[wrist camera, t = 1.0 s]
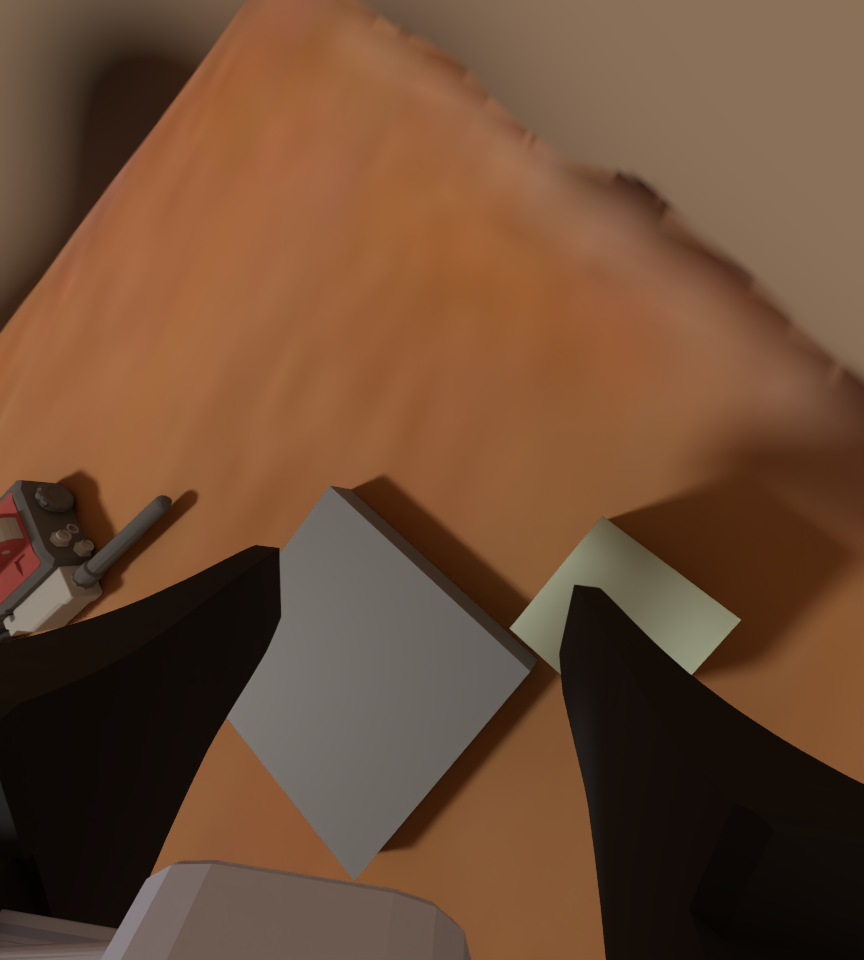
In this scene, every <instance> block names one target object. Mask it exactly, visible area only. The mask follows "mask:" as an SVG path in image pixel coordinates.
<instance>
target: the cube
mask: <svg viewBox="0 0 864 960" xmlns="http://www.w3.org/2000/svg"><path fill="white" fill-rule="evenodd" d="M574 585H583V586H591V587H599V588H601V589H602V590H603V591H604V592H605V593H606V594H607V595H608V596H609V597H610V598H611V599H612V600H613V601H614V602H615V603H616V604H617V605H618V606H619V607H620V608H621V609H622V610H623V611H624V612H625V613H626V614H627V615H628V616H629V617H630V618H631V619H632V620H633V621H634V622H635V623H636V624H637V625H638V626H639V627H640V628H641V629H642V630H643V631H644V632H645V633H646V634H647V635H648V636H649V637H650V638H651V639H652V640H653V641H654V642H655V643H656V644H657V645H658V646H659V647H660V648H661V649H662V650H664V651H665V652H666V653H667V654H668V655H669V656H670V657H671V658H672V659H674V660H675V661H676V662H677V663H678V664H679V665H680V666H682V667H683V668H684V669H685V670H686V671H687V672H688V673H690V674H691V675H692V674H693V673H694V672H695V671H696V670H697V668H698V667H699V666H700V665H701V664H702V663H703V662H704V661H705V660H706V658H707V657H708V656H709V655H710V654H711V653H712V652H713V651H714V650H715V648H716V647H717V646H718V645H719V644H720V643H721V642H722V641H723V640H724V638H725V637H726V636H727V635H728V634H729V633H730V632H731V631H732V630H733V628H734V627H735V626H736V625H737V624H738V623H739V622H740V621H741V619H739V618H738V617H737V616H735V615H734V614H733V613H731V612H730V611H729V610H727V609H726V608H725V607H723V606H722V605H721V604H719V603H718V602H717V601H715V600H714V599H713V598H711V597H710V596H709V595H707V594H706V593H705V592H703V591H702V590H701V589H699V588H698V587H697V586H695V585H694V584H693V583H691V582H690V581H689V580H687V579H686V578H685V577H683V576H682V575H681V574H679V573H678V572H677V571H675V570H674V569H673V568H671V567H670V566H669V565H667V564H666V563H665V562H663V561H662V560H661V559H659V558H658V557H657V556H655V555H654V554H653V553H651V552H650V551H649V550H647V549H646V548H645V547H643V546H642V545H641V544H639V543H638V542H637V541H635V540H634V539H633V538H631V537H630V536H629V535H627V534H626V533H625V532H623V531H622V530H621V529H619V528H618V527H617V526H615V525H614V524H613V523H611V522H610V521H609V520H607V519H606V518H605V517H603V516H602V517H601V518H600V519H599V520H598V521H597V523H596V524H595V525H594V526H593V527H592V529H591V530H590V531H589V532H588V534H587V535H586V536H585V537H584V538H583V540H582V541H581V542H580V543H579V545H578V546H577V547H576V548H575V549H574V551H573V552H572V553H571V554H570V556H569V557H568V558H567V559H566V560H565V562H564V563H563V564H562V565H561V566H560V568H559V569H558V570H557V571H556V573H555V574H554V575H553V576H552V577H551V579H550V580H549V581H548V582H547V584H546V585H545V586H544V587H543V588H542V590H541V591H540V592H539V593H538V594H537V596H536V597H535V598H534V599H533V601H532V602H531V603H530V604H529V605H528V607H527V608H526V609H525V610H524V612H523V613H522V614H521V615H520V616H519V618H518V619H517V620H516V621H515V623H514V624H513V625H512V626H511V627H510V629H511V630H512V631H513V632H514V633H515V634H516V635H517V636H518V637H519V638H521V639H522V640H523V641H524V642H525V643H526V644H527V645H528V646H529V647H531V648H532V649H533V650H534V651H535V652H536V653H537V654H538V655H539V656H541V657H542V658H543V659H544V660H545V661H546V662H547V663H548V664H549V665H550V666H552V667H553V668H554V669H555V670H556V671H557V672H558V673H559V674H560V675H561V671H560V659H559V651H560V647H561V642H562V638H563V633H564V628H565V624H566V619H567V615H568V610H569V605H570V601H571V596H572V592H573V587H574Z"/></svg>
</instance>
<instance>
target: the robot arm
mask: <svg viewBox="0 0 864 960" xmlns="http://www.w3.org/2000/svg"><path fill="white" fill-rule="evenodd" d="M280 619H281V586H280V553H279V548H275V547H266V546H258V545H255V546H252V547H250V548H247V549H245V550H243V551H241V552H239V553H237V554H235V555H233V556H231V557H229V558H227V559H225V560H223V561H221V562H219V563H217V564H215V565H213V566H211V567H210V568H208V569H206V570H204V571H202V572H200V573H198V574H196V575H194V576H192V577H190V578H188V579H186V580H184V581H181V582H179V583H177V584H175V585H173V586H171V587H168V588H166V589H164V590H162V591H160V592H158V593H155V594H153V595H151V596H149V597H147V598H144V599H142V600H139V601H137V602H135V603H132V604H130V605H127V606H125V607H122V608H119V609H116V610H114V611H111V612H108V613H105V614H103V615H100V616H97V617H94V618H91V619H88V620H85V621H81V622H78V623H75V624H71V625H68V626H65V627H61V628H58V629H55V630H51V631H48V632H45V633H41V634H38V635H34V636H30V637H26V638H22V639H18V640H14V641H10V642H5V643H1V644H0V960H471V957H470V953H469V949H468V945H467V941H466V937H465V933H464V931H463V930H462V928H461V927H460V926H459V925H458V924H457V923H456V922H455V921H454V920H453V919H452V918H450V917H449V916H448V915H447V914H446V913H445V912H444V911H442V910H441V909H440V908H439V907H438V906H437V905H435V904H434V903H433V902H432V901H429V900H426V899H423V898H420V897H417V896H414V895H411V894H408V893H405V892H402V891H399V890H396V889H391V888H385V887H379V886H373V885H366V884H360V883H354V882H348V881H342V880H336V879H329V878H323V877H317V876H311V875H305V874H298V873H292V872H286V871H280V870H274V869H268V868H261V867H255V866H249V865H243V864H237V863H230V862H224V861H218V860H202V861H180V862H177V863H174V864H172V865H170V866H168V867H167V868H165V869H163V870H161V871H160V872H158V873H156V874H154V875H153V876H151V877H150V875H151V872H152V870H153V868H154V865H155V863H156V861H157V858H158V856H159V854H160V851H161V849H162V847H163V844H164V842H165V840H166V837H167V835H168V833H169V831H170V829H171V827H172V824H173V822H174V820H175V818H176V816H177V813H178V811H179V809H180V807H181V805H182V802H183V800H184V798H185V796H186V794H187V792H188V789H189V787H190V785H191V783H192V781H193V779H194V777H195V775H196V773H197V771H198V769H199V767H200V765H201V763H202V761H203V758H204V756H205V754H206V752H207V750H208V748H209V747H210V745H211V743H212V741H213V739H214V738H215V736H216V734H217V732H218V730H219V729H220V727H221V726H222V724H223V722H224V721H225V719H226V717H227V716H228V714H229V713H230V711H231V709H232V708H233V706H234V704H235V703H236V701H237V700H238V698H239V696H240V695H241V693H242V692H243V690H244V688H245V687H246V685H247V683H248V682H249V680H250V679H251V677H252V675H253V674H254V672H255V670H256V669H257V667H258V665H259V664H260V662H261V660H262V659H263V657H264V655H265V653H266V652H267V649H268V647H269V645H270V643H271V641H272V638H273V636H274V634H275V631H276V629H277V627H278V624H279V622H280ZM559 659H560V671H561V681H562V690H563V696H564V700H565V705H566V709H567V714H568V718H569V722H570V727H571V731H572V735H573V739H574V744H575V748H576V752H577V756H578V761H579V765H580V769H581V773H582V778H583V782H584V787H585V792H586V797H587V802H588V808H589V816H590V823H591V831H592V838H593V846H594V853H595V862H596V871H597V879H598V888H599V896H600V905H601V915H602V925H603V935H604V945H605V955H606V960H864V784H862V783H860V782H858V781H856V780H854V779H852V778H850V777H848V776H846V775H844V774H843V773H841V772H839V771H837V770H835V769H833V768H832V767H830V766H828V765H826V764H824V763H823V762H821V761H819V760H817V759H816V758H814V757H812V756H810V755H808V754H807V753H805V752H803V751H801V750H800V749H798V748H796V747H795V746H793V745H791V744H790V743H788V742H786V741H785V740H783V739H781V738H780V737H778V736H776V735H775V734H773V733H772V732H770V731H769V730H767V729H766V728H764V727H763V726H761V725H760V724H758V723H756V722H755V721H753V720H752V719H750V718H749V717H747V716H746V715H744V714H743V713H741V712H740V711H738V710H737V709H736V708H734V707H733V706H731V705H730V704H729V703H727V702H726V701H724V700H723V699H722V698H721V697H719V696H718V695H717V694H715V693H714V692H713V691H711V690H710V689H709V688H707V687H706V686H705V685H703V684H702V683H701V682H700V681H698V680H697V679H696V678H695V677H693V676H692V675H691V674H690V673H688V672H687V671H686V670H685V669H684V668H683V667H682V666H680V665H679V664H678V663H677V662H676V661H675V660H674V659H672V658H671V657H670V656H669V655H668V654H667V653H666V652H665V651H664V650H662V649H661V648H660V647H659V646H658V645H657V644H656V643H655V642H654V641H653V640H652V639H651V638H650V637H649V636H648V635H647V634H646V633H645V632H644V631H643V630H642V629H641V628H640V627H639V626H638V625H637V624H636V623H635V622H634V621H633V620H632V619H631V618H630V617H629V616H628V615H627V614H626V613H625V612H624V611H623V610H622V609H621V608H620V607H619V606H618V605H617V604H616V603H615V602H614V601H613V600H612V599H611V598H610V597H609V596H608V595H607V594H606V593H605V592H604V591H603V590H602V589H601V588H599V587H591V586H583V585H574V587H573V592H572V596H571V601H570V605H569V610H568V615H567V619H566V624H565V628H564V633H563V638H562V642H561V647H560V651H559Z"/></svg>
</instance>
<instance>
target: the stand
mask: <svg viewBox="0 0 864 960" xmlns="http://www.w3.org/2000/svg"><path fill="white" fill-rule="evenodd" d="M280 586H281V619H280V622H279V624H278V627H277V629H276V631H275V634H274V636H273V638H272V641H271V643H270V645H269V647H268V649H267V652H266V653H265V655H264V657H263V659H262V660H261V662H260V664H259V665H258V667H257V669H256V670H255V672H254V674H253V675H252V677H251V679H250V680H249V682H248V683H247V685H246V687H245V688H244V690H243V692H242V693H241V695H240V696H239V698H238V700H237V701H236V703H235V704H234V706H233V708H232V709H231V711H230V713H229V714H228V716H227V718H228V720H229V721H230V722H231V724H232V725H233V726H234V727H235V729H236V730H237V731H238V733H239V734H240V735H241V736H242V738H243V739H244V740H245V742H246V743H247V744H248V745H249V747H250V748H251V749H252V751H253V752H254V753H255V754H256V756H257V757H258V758H259V760H260V761H261V762H262V763H263V765H264V766H265V767H266V769H267V770H268V771H269V772H270V774H271V775H272V776H273V778H274V779H275V780H276V781H277V783H278V784H279V785H280V787H281V788H282V789H283V790H284V792H285V793H286V794H287V796H288V797H289V798H290V799H291V801H292V802H293V803H294V805H295V806H296V807H297V808H298V810H299V811H300V812H301V814H302V815H303V816H304V817H305V819H306V820H307V821H308V823H309V824H310V825H311V826H312V828H313V829H314V830H315V832H316V833H317V834H318V835H319V837H320V838H321V839H322V841H323V842H324V843H325V844H326V846H327V847H328V848H329V850H330V851H331V852H332V853H333V855H334V856H335V857H336V859H337V860H338V861H339V862H340V864H341V865H342V866H343V868H344V869H345V870H346V871H347V873H348V874H349V875H350V877H351V878H352V879H353V880H355V879H356V878H357V877H358V876H359V874H360V873H361V872H362V871H363V870H364V868H365V867H366V866H367V865H368V864H369V862H370V861H371V860H372V859H373V858H374V857H375V855H376V854H377V853H378V852H379V851H380V849H381V848H382V847H383V846H384V845H385V843H386V842H387V841H388V840H389V839H390V838H391V836H392V835H393V834H394V833H395V832H396V830H397V829H398V828H399V827H400V826H401V824H402V823H403V822H404V821H405V820H406V819H407V817H408V816H409V815H410V814H411V813H412V811H413V810H414V809H415V808H416V807H417V805H418V804H419V803H420V802H421V801H422V800H423V798H424V797H425V796H426V795H427V794H428V792H429V791H430V790H431V789H432V788H433V786H434V785H435V784H436V783H437V782H438V781H439V779H440V778H441V777H442V776H443V775H444V773H445V772H446V771H447V770H448V769H449V767H450V766H451V765H452V764H453V763H454V762H455V760H456V759H457V758H458V757H459V756H460V754H461V753H462V752H463V751H464V750H465V748H466V747H467V746H468V745H469V744H470V743H471V741H472V740H473V739H474V738H475V737H476V735H477V734H478V733H479V732H480V731H481V729H482V728H483V727H484V726H485V725H486V724H487V722H488V721H489V720H490V719H491V718H492V716H493V715H494V714H495V713H496V712H497V711H498V709H499V708H500V707H501V706H502V705H503V703H504V702H505V701H506V700H507V699H508V697H509V696H510V695H511V694H512V693H513V692H514V690H515V689H516V688H517V687H518V686H519V684H520V683H521V682H522V681H523V680H524V678H525V677H526V676H527V675H528V674H529V673H530V671H531V670H532V668H533V667H534V665H535V664H536V662H537V661H538V659H537V658H535V657H534V656H533V655H532V654H531V653H530V652H529V651H528V650H527V649H526V648H524V647H523V646H522V645H521V644H520V643H519V642H518V641H517V640H516V639H515V638H513V637H512V636H511V635H510V634H509V633H508V632H507V631H506V630H505V629H504V628H502V627H501V626H500V625H499V624H498V623H497V622H496V621H495V620H494V619H493V618H491V617H490V616H489V615H488V614H487V613H486V612H485V611H484V610H483V609H482V608H480V607H479V606H478V605H477V604H476V603H475V602H474V601H473V600H472V599H471V598H469V597H468V596H467V595H466V594H465V593H464V592H463V591H462V590H461V589H460V588H458V587H457V586H456V585H455V584H454V583H453V582H452V581H451V580H450V579H449V578H447V577H446V576H445V575H444V574H443V573H442V572H441V571H440V570H439V569H438V568H436V567H435V566H434V565H433V564H432V563H431V562H430V561H429V560H428V559H427V558H425V557H424V556H423V555H422V554H421V553H420V552H419V551H418V550H417V549H416V548H414V547H413V546H412V545H411V544H410V543H409V542H408V541H407V540H406V539H405V538H403V537H402V536H401V535H400V534H399V533H398V532H397V531H396V530H395V529H394V528H392V527H391V526H390V525H389V524H388V523H387V522H386V521H385V520H384V519H383V518H381V517H380V516H379V515H378V514H377V513H376V512H375V511H374V510H373V509H372V508H370V507H369V506H368V505H367V504H366V503H365V502H364V501H363V500H362V499H361V498H359V497H358V496H357V495H356V494H355V493H354V492H353V491H352V490H351V489H346V488H340V487H334V486H329V487H328V488H327V490H326V491H325V493H324V494H323V495H322V497H321V498H320V500H319V501H318V502H317V504H316V505H315V506H314V508H313V509H312V511H311V512H310V513H309V515H308V516H307V517H306V519H305V520H304V522H303V523H302V524H301V526H300V527H299V529H298V530H297V531H296V533H295V534H294V535H293V537H292V538H291V540H290V541H289V542H288V544H287V545H286V547H285V548H284V549H283V551H282V552H281V553H280Z"/></svg>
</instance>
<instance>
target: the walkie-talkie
mask: <svg viewBox="0 0 864 960" xmlns="http://www.w3.org/2000/svg"><path fill="white" fill-rule="evenodd" d="M171 503H172V500H171V499H170V498H169V497H167V496H163V495H161V496H158V497H156V498H155V499H154V500H153V501H152V502H151V503H150V504H149V505H148V506H147V507H146V508H145V509H144V510H143V511H142V512H141V513H140V514H138V515H137V516H136V517H135V518H134V519H133V520H132V521H131V522H130V523H129V524H128V525H127V526H126V527H125V528H124V529H123V530H122V531H121V532H119V533H118V534H117V535H116V536H115V537H114V538H113V539H112V540H111V541H110V542H109V543H108V544H107V545H106V546H105V547H104V548H103V549H102V550H100V551H99V552H98V553H97V554H96V555H95V556H94V557H93V555H92V550H93V549H94V544H93V543H92V542H91V541H89V540H86V539H85V537H84V534H83V532H82V530H81V528H80V525H79V523H78V521H77V519H76V516H75V514H74V512H73V509H72V506H73V505H74V497H73V496H72V494H71V493H70V492H69V491H68V490H67V489H66V488H65V487H63V486H62V485H61V484H57V483H46V482H35V481H24V480H20V481H16V482H15V483H14V484H13V485H12V486H11V487H10V488H9V489H8V491H7V492H6V493H5V494H4V495H3V496H2V497H1V498H0V644H1V643H5V642H10V641H11V639H12V638H13V637H16V635H21V634H27V633H31V632H37V631H43V630H49V629H55V628H61V627H64V626H65V625H66V624H67V623H68V622H69V621H70V620H71V619H72V618H74V617H75V616H76V615H77V614H78V613H79V612H80V611H81V610H82V609H83V608H84V607H86V606H87V605H88V604H89V603H90V602H91V601H95V600H96V599H97V598H99V597H100V596H101V595H102V593H103V592H102V589H101V587H100V585H99V582H98V581H99V580H100V579H101V578H102V577H103V576H104V575H105V573H106V570H107V569H108V568H109V567H110V566H111V565H112V564H113V563H114V562H116V561H117V560H118V559H119V558H120V557H121V556H122V555H123V554H124V553H125V552H126V551H127V550H129V549H130V548H131V547H132V546H133V545H134V544H135V543H136V542H137V541H138V540H139V539H140V538H142V537H143V535H144V533H145V532H146V531H147V530H148V529H149V528H150V527H151V526H152V525H153V524H154V523H155V522H156V521H157V520H159V519H160V518H161V517H162V516H163V515H164V514H165V513H166V512H167V511H168V510H169V508H170V506H171Z"/></svg>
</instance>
